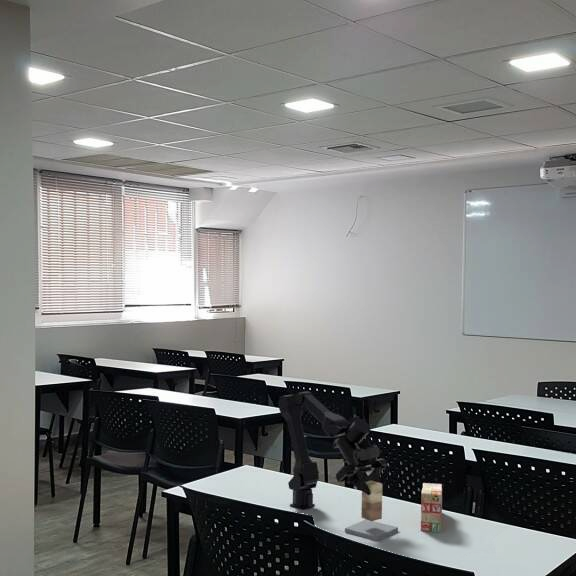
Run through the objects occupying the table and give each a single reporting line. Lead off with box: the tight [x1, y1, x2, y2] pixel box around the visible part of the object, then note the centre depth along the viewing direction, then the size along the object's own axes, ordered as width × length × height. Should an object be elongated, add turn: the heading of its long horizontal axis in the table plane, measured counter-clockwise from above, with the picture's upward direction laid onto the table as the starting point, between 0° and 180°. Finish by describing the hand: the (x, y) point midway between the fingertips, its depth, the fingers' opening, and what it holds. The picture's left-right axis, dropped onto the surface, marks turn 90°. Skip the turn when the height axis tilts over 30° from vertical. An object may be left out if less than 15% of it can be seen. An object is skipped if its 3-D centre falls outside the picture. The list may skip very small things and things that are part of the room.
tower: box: [361, 480, 383, 522], centre depth 227 cm, size 4×4×11 cm
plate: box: [344, 519, 399, 541], centre depth 227 cm, size 12×12×1 cm
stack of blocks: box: [420, 482, 443, 533], centre depth 238 cm, size 21×6×12 cm, turn 167°
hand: (375, 493), depth 226 cm, fingers closed on tower, 4 cm apart
